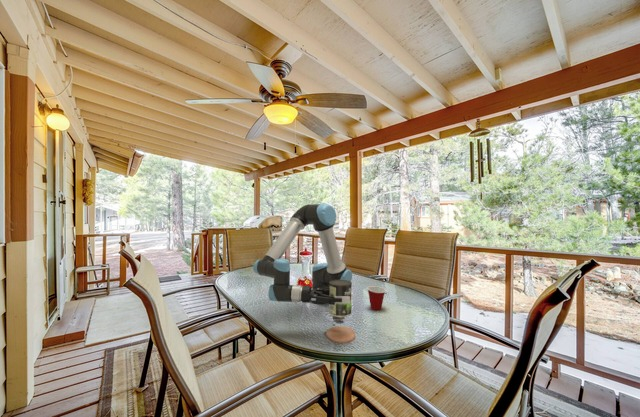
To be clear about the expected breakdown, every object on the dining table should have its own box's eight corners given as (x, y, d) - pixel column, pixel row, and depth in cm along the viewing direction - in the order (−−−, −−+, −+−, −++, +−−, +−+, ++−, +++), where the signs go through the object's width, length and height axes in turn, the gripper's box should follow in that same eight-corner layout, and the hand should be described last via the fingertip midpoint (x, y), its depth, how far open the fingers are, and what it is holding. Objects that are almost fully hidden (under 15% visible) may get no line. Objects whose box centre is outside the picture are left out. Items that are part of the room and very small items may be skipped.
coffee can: (355, 311, 121) (355, 281, 121) (345, 319, 112) (345, 286, 112) (335, 307, 127) (335, 278, 127) (325, 314, 118) (325, 283, 118)
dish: (320, 335, 120) (320, 332, 120) (340, 326, 129) (340, 323, 129) (341, 346, 110) (341, 342, 110) (360, 336, 119) (360, 332, 119)
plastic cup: (384, 313, 145) (384, 292, 145) (365, 311, 149) (365, 290, 149) (387, 307, 155) (387, 286, 155) (369, 304, 159) (369, 284, 159)
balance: (345, 323, 133) (345, 301, 133) (333, 323, 133) (333, 301, 133) (342, 310, 150) (342, 290, 150) (331, 310, 149) (331, 291, 149)
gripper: (306, 294, 133) (350, 296, 130) (296, 311, 110) (349, 313, 108) (306, 279, 133) (350, 281, 130) (296, 293, 110) (349, 295, 108)
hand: (349, 295), depth 119 cm, fingers closed on coffee can, 10 cm apart
